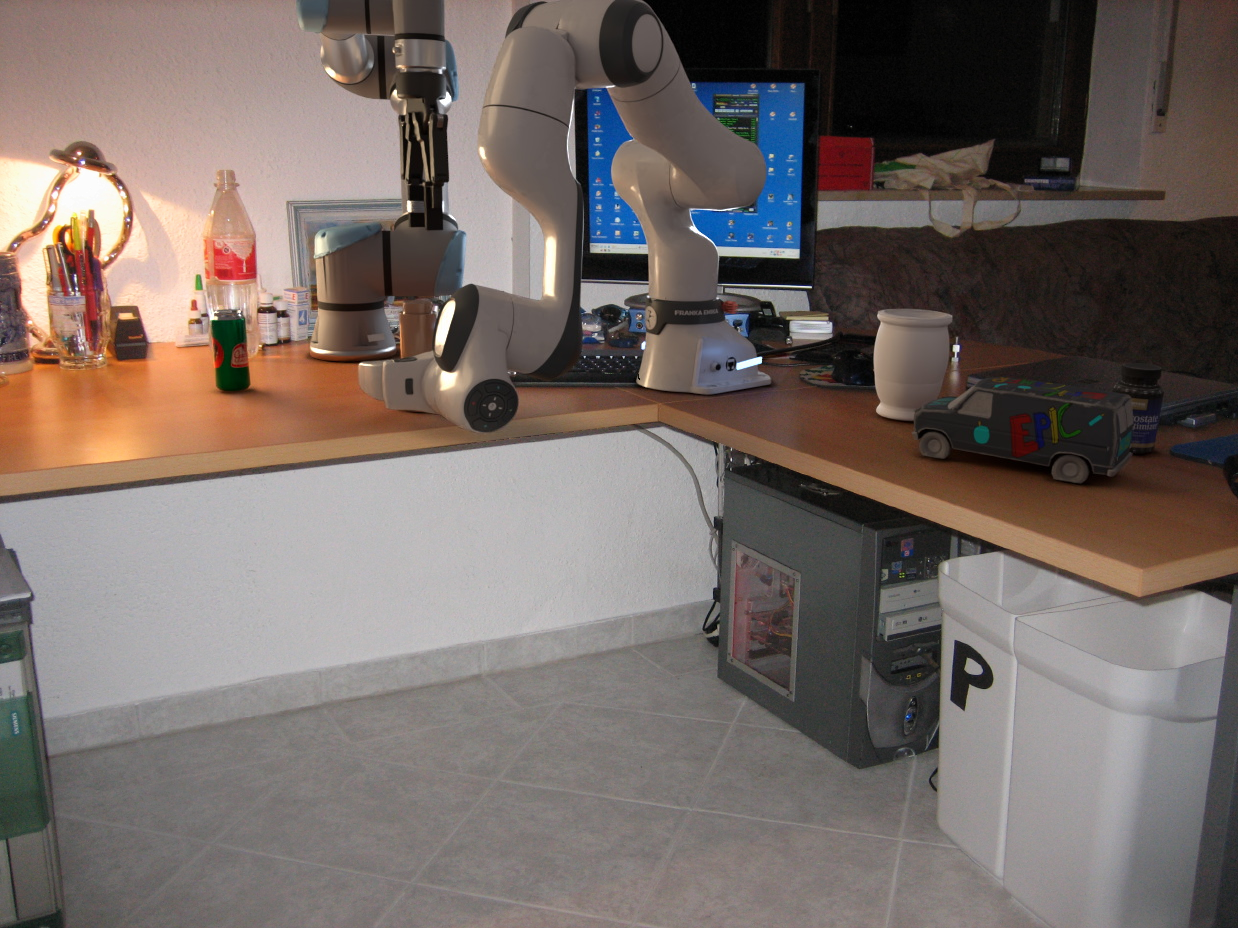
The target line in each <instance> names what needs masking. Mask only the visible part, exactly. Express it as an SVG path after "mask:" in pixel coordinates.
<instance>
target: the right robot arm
mask: <svg viewBox="0 0 1238 928" xmlns="http://www.w3.org/2000/svg"><path fill="white" fill-rule="evenodd" d="M604 88H605V89H606V90H607V93H608V95H609V97H610V99H611V101H612V103H613V105H614V107H615V109H616V111H617V114H618V115H619V117H620V120H621V121H622V123H623V125H624V127H625V129H626V132H627V133H628V134H629V136H630V137H632V138H633V139H630V140H626V141H624V142H622V144H620V145H619V147H618V148H617V150H616V152H615V154H614V155H613V158H612V162H611V168H610V176H611V181H612V185H613V188H614V189H615V192H616V193H617V195H618V196H619V197H620V198H621V199H622V200H623V201H624V202H625V203H626V204H627V205H628V206H629V207H630V209H631V210H632V211H633V212H634V214H635V216H636V218H637V220H638V222H639V224H640V226H641V229H642V231H643V234H644V237H645V242H646V247H647V256H648V258H647V259H648V260H647V261H648V295H646V297H645V305H644V307H645V309H644V327H645V340H644V341H643V342H642V343H641V350H643V353H642V358H641V363H640V367H639V370H638V374H639V378H640V380H639V379H638V376H637V377H636V380H635V382H636V384H637V385H639V386H642V387H645V388H648V389H652V390H659V391H667V392H678V393H692V394H700V395H716V394H722V393H727V392H734V391H739V390H740V391H741V390H744V389H751V388H757V387H763V386H768V385H772V378H771V376H770V375H768V374H766V373H765V372H762V371H760V370H759V365H760V364H762V361H763V360H762V359H763V357H768V356H772V355H779V354H785V353H790V352H796V351H801V350H806V349H813V348H818V347H820V346H825V345H828V344H831V343H832V342H835V341H837V340H838V339H843V338H842V337H843V336H844V333H843V332H842V331H841V330H839V331H837V332H836V333H835V334H834V335H833V336H831V337H829V338H827V339H824V340H819V341H815V342H810V343H806V344H805V343H804V344H800V345H792V346H787V347H780V348H776V349H770V350H764V351H760V352H757V350H756V347H755V346H754V344H753V343H752V342H751V341H750V340H748V338H747V337H745V336H744V335H743V334H742V333H740V332H739V331H738V330H737V329H736V328H735V327H733V326H732V324H730V323H729V322H728V321H727V320H726V318H727V317H726V315H725V313H726V314H731V315H735V314H737V312H738V311H739V304H738V303H737V301H731V300H728V299H727V300H725V301H724V300H722V299H721V298H720V297H718V286H719V285H718V284H719V263H720V262H719V261H720V255H719V251H718V248H717V246H716V245H715V243H714V241H713V240H712V239H710V238H708V237H707V236H706V235H705V234H703V233H701V232H700V231H699V230H698V229H697V227H696V225H695V224H694V221H693V219H692V214H691V210H701V211H702V210H703V211H719V212H720V211H721V212H722V211H728V210H736V209H740V208H746V207H749V206H751V205H753V204H754V203H755V202H756V201H757V200H758V199H759V197H760V196H761V194H762V192H763V190H764V188H765V184H766V181H767V173H768V172H767V170H768V169H767V164H766V160H765V157H764V154H763V152H762V151H761V149H760V148H759V146H758V145H757V144H756V143H755V142H753V141H750V140H748V139H746V138H744V137H742V136H740V135H738V134H736V133H735V132H734V131H732V130H731V129H729V128H728V127H727V126H725V125H724V124H723V123H722V122H720V120H719V119H717V118H716V117H715V116H714V115H713V113H711V112H710V111H709V110H708V109H707V107H706V106H705V105H704V104H703V103H702V101H701V100H700V99H699V97H698V96H697V94H696V91H695V90H694V88H693V86H692V84H691V82H690V79H689V77H688V75H687V73H686V71H685V68H684V66H683V63H682V61H681V59H680V56H679V54H678V52H677V49H676V47H675V44H674V43H673V41H672V40H671V37H670V35H669V33H668V31H667V30H666V28H665V25H664V24H663V23H662V22H661V20H660V18H659V17H658V16H657V14H656V13H655V12H654V9H652V7H651V6H650V5H649V4H648V3H647V2H646V1H644V0H555V1H549V2H548V1H543V0H541V1H536V2H532V3H529V4H526V5H523V6H522V7H520V8H519V9H517V11H515V13H514V14H513V16H511V18H510V21H509V23H508V25H507V28H506V31H505V34H504V39H503V42H502V43H501V46H500V49H499V51H498V53H497V56H496V58H495V61H494V64H493V66H492V70H491V72H490V76H489V79H488V83H487V87H486V91H485V94H484V99H483V104H482V108H481V113H480V119H479V124H478V130H477V132H478V133H477V145H476V146H477V155H478V158H479V161H480V162H481V166H482V167H483V169H484V170H485V172H486V174H487V176H489V178H490V179H491V180H492V181H493V183H494V184H495V185H496V186H497V187H498V188H499V189H500V190H502V191H503V192H504V193H505V194H506V195H508V196H509V197H511V198H512V199H513V200H514V201H516V202H517V203H518V204H519V205H521V206H522V207H523V208H524V209H525V210H526V211H527V212H528V213H529V214H530V215H531V216H532V217H533V218H534V219H535V220H536V222H537V224H538V226H539V227H540V229H541V233H542V235H543V266H542V292H541V293H542V294H541V298H540V299H534V298H531V297H526V296H522V295H517V294H514V293H509V292H506V291H504V290H500V289H497V288H493V287H488V286H483V285H478V284H474V283H468V284H466V285H464V286H463V285H462V288H460V289H459V290H457V291H456V292H455V293H454V294H452V295H449V297H448V298H447V299H446V300H445V301H444V302H443V304H442V305H441V306H440V309H439V310H438V312H437V319H436V323H435V327H434V333H433V343H432V351H430V352H425V353H422V354H419V355H416V356H412V357H406V358H401V357H400V358H393V359H380V360H368V361H360V362H359V363H358V366H357V377H358V379H357V380H358V386H359V388H360V390H361V391H362V392H364V393H365V394H366V395H368V397H370V398H372V399H374V400H377V401H379V402H383V403H384V407H385V408H386V409H387V410H390V411H405V410H408V411H407V412H410V411H423V412H422V413H428V414H433V415H439V416H441V417H444V418H445V420H447V421H448V422H450V423H451V424H453V425H455V426H456V427H459V428H460V429H462V430H465V431H468V432H470V433H474V434H481V435H482V434H491V433H494V432H497V431H499V430H501V429H503V428H505V427H507V425H508V424H510V423H511V422H512V420H513V419H514V418H515V416H516V415H517V412H518V410H519V405H520V397H519V392H518V390H517V388H516V386H515V384H514V383H513V381H512V379H511V378H515V377H516V376H517V373H521V374H522V375H524V376H528V377H531V378H534V379H537V380H539V381H540V380H541V381H544V382H553V381H554V380H556V379H559V378H560V377H562V376H564V375H565V374H567V373H568V372H570V371H571V370H572V369H573V368H574V367H575V365H577V364H578V362H579V359H580V357H581V355H582V351H583V343H584V332H583V331H584V329H583V320H582V309H581V308H582V307H581V298H582V296H581V295H582V275H583V274H582V273H583V272H582V271H583V251H584V250H583V247H584V220H585V219H584V216H585V215H584V213H585V212H584V211H585V208H584V194H583V193H584V192H583V188H582V186H581V183H580V182H579V181H578V179H576V177H575V176H574V173H573V171H572V168H571V167H572V166H571V163H570V158H569V157H570V156H569V147H568V146H569V133H570V129H571V122H572V118H573V111H574V104H575V103H574V102H575V91H576V90H587V89H604ZM844 337H845V336H844Z"/></svg>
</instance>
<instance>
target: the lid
mask: <svg viewBox="0 0 1238 928" xmlns="http://www.w3.org/2000/svg"><path fill="white" fill-rule="evenodd" d="M442 201H443V200H442ZM406 202H407V212H414V213H425V210H424V200H406ZM443 212H444V201H443Z"/></svg>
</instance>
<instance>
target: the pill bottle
mask: <svg viewBox="0 0 1238 928" xmlns="http://www.w3.org/2000/svg"><path fill="white" fill-rule="evenodd" d="M1162 371H1163V367H1161V366H1158V365H1155V364H1149V363H1142V362H1141V363H1140V362H1126V363H1122V365H1121V369H1120V375H1121V380H1119V381H1116V382H1115V383H1114V384H1113V385H1112V388H1111V392H1115V393H1121V394H1127V395H1129V396H1131V401H1132V410H1133V418H1134V426H1135V427H1134V430H1133V436H1132V441H1131V448H1130V451H1129V452H1131V453H1133V454H1140V455H1141V454H1148V453H1151V452H1153V451H1154V450H1155V448H1156V440H1157V435H1158V428H1159V424H1160V419H1161V418H1160V417H1161V412H1162V407H1163V399H1164V395H1165V391H1164V389H1163V387H1162V386H1161V385H1159V383H1158V381H1159V380H1160V379H1161V377H1162Z"/></svg>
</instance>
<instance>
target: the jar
mask: <svg viewBox="0 0 1238 928" xmlns="http://www.w3.org/2000/svg"><path fill="white" fill-rule="evenodd" d="M877 319H878V321H880V325H879V327H878V329H877V334H876V337H875V342H874V347H873V372H874V384H875V385H874V386H875V391H876V395H877V398H878V399H879V401H880V402H879V404H877V405H878V406H877V407H876V409H875V412H876V413H877V415H879V416H881V417H884V418H887V419H889V420H890V419H891V420H896V421H903V422H914V414H915V410H916V409H918V408H919V407H921V406H923V405H924V404H926V403H929V402H931V401H934V400H936V399H939V396H940V393H941V391H942V388H943V384H944V378H945V377H946V376H945V375H946V373H947V369H948V364H949V360H950V359H949V357H950V334H949V327H948V326H949V325H951V324H952V323H953V315H952V314H950V313H947V312H943V311H936V310H929V309H918V308H888V309H880V310H878V311H877Z"/></svg>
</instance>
